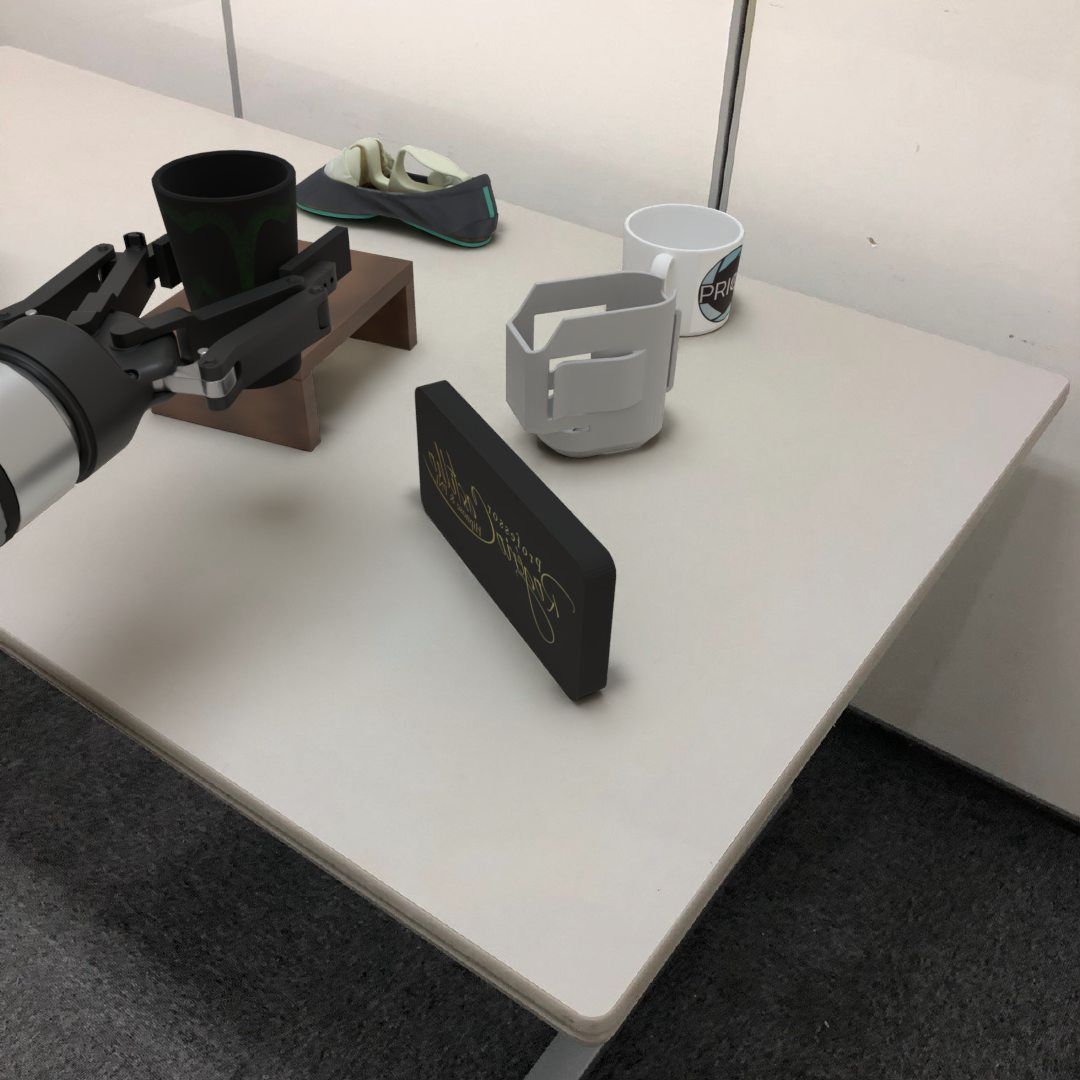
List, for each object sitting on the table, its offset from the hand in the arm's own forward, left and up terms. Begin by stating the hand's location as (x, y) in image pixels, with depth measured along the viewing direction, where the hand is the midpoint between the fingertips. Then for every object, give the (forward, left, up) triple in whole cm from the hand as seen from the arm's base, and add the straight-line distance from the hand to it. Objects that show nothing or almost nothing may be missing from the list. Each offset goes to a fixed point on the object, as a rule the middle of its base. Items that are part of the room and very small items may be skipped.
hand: (283, 236), depth 65 cm
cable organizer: (+16, +11, -18) cm, 27 cm away
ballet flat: (-15, +43, -18) cm, 49 cm away
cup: (0, -5, -7) cm, 8 cm away
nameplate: (+17, -7, -18) cm, 26 cm away
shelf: (-9, +11, -18) cm, 23 cm away
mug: (+17, +33, -18) cm, 41 cm away
